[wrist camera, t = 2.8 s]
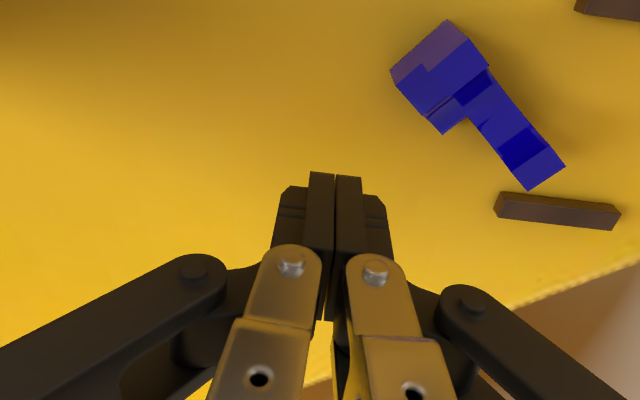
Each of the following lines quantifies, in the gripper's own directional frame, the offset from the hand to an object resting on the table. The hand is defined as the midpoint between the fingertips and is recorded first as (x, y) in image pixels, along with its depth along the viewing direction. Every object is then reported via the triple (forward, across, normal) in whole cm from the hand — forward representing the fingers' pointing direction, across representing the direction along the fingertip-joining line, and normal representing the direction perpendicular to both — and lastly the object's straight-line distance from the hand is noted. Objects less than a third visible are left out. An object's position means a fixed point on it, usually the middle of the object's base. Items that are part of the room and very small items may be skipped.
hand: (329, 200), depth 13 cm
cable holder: (+12, -7, 0) cm, 14 cm away
